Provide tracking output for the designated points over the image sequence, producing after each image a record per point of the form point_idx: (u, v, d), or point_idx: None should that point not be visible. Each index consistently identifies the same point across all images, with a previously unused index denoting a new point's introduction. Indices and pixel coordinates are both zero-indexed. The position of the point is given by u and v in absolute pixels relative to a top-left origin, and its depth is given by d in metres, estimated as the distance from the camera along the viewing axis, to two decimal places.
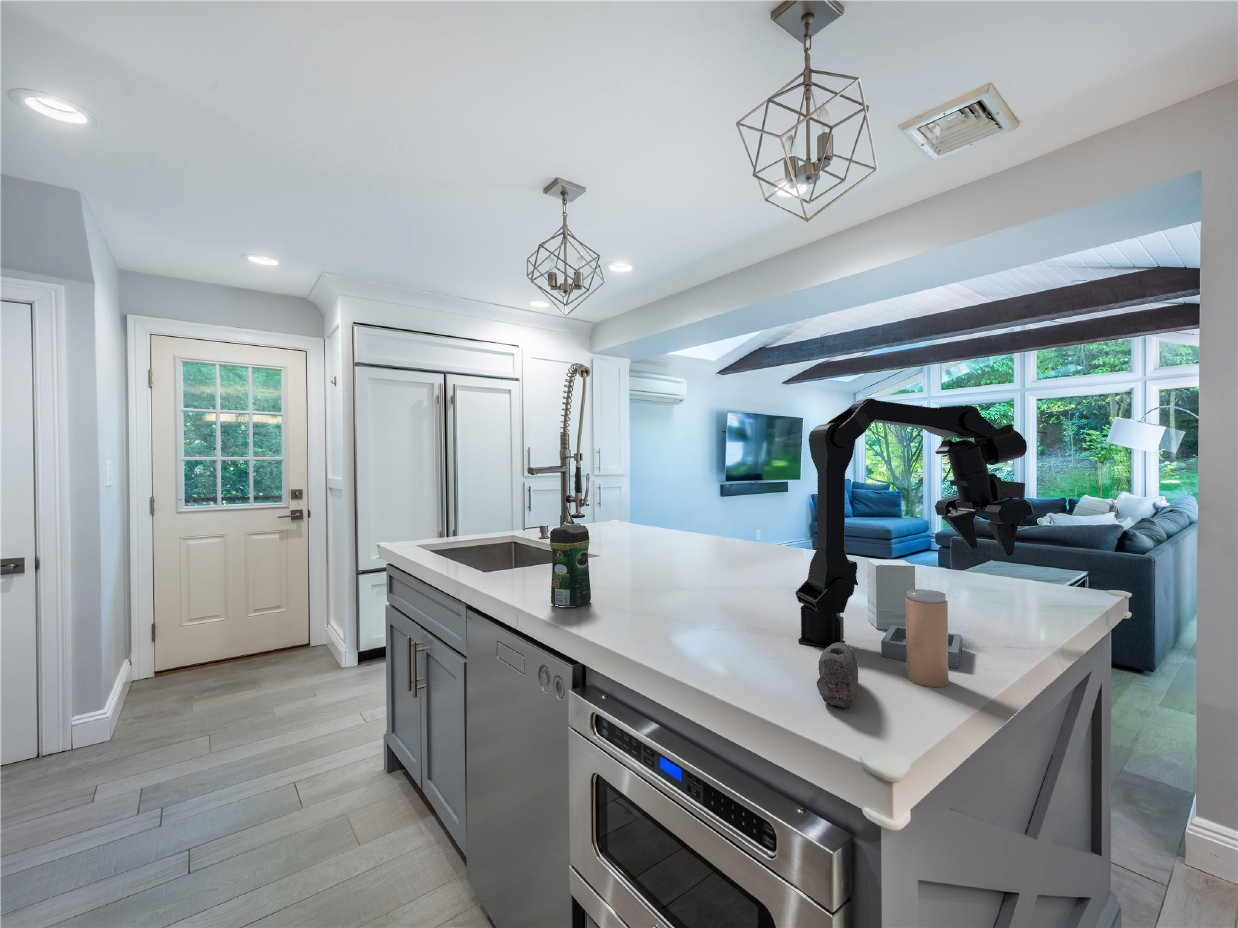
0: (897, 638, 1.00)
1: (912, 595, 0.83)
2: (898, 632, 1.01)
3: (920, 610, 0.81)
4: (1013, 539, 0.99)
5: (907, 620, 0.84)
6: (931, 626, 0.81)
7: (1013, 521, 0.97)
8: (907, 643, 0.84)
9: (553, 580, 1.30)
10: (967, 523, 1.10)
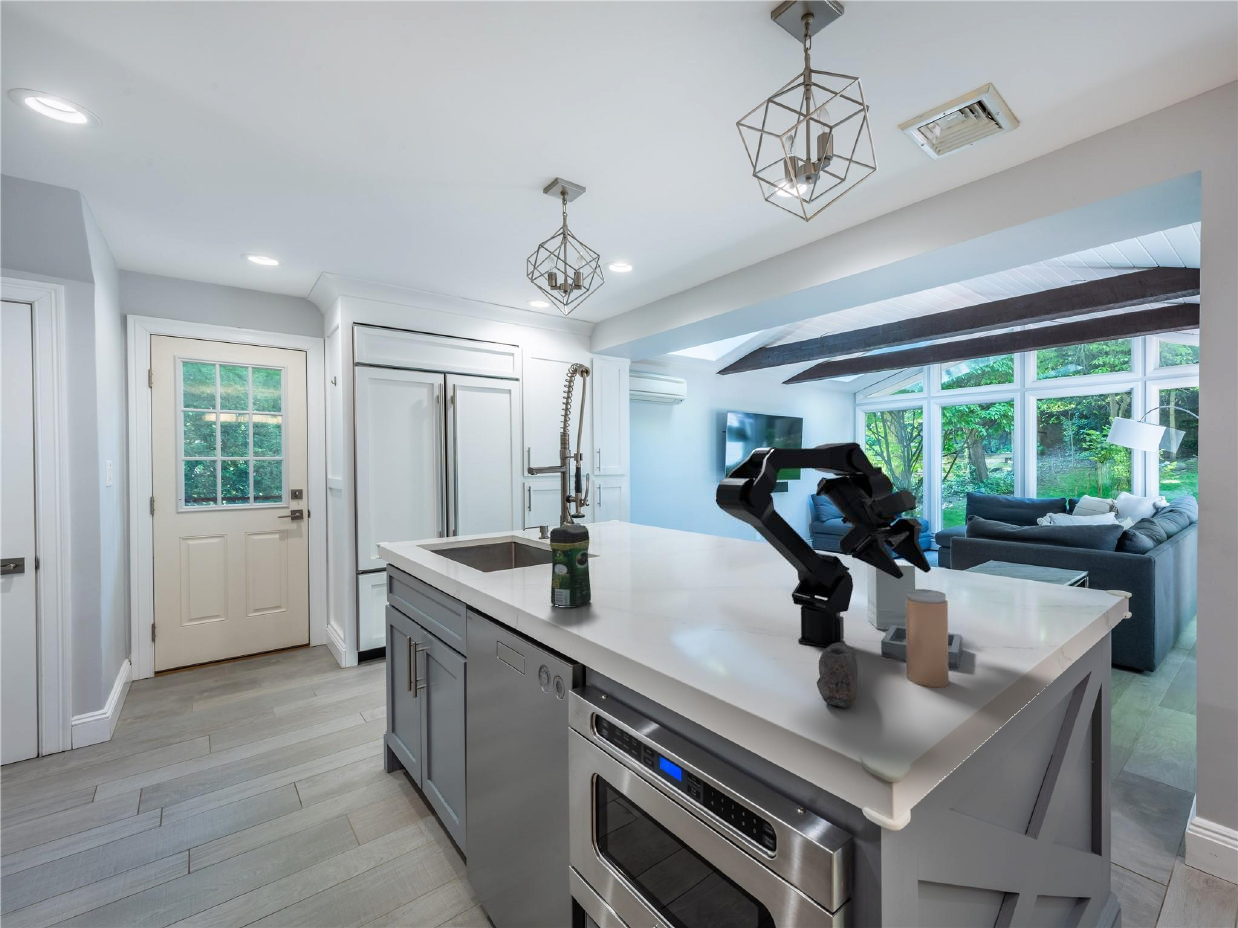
0: (897, 638, 1.00)
1: (912, 595, 0.83)
2: (898, 632, 1.01)
3: (920, 610, 0.81)
4: (888, 561, 0.92)
5: (907, 620, 0.84)
6: (931, 626, 0.81)
7: (861, 547, 0.94)
8: (907, 643, 0.84)
9: (553, 580, 1.30)
10: (909, 547, 1.00)
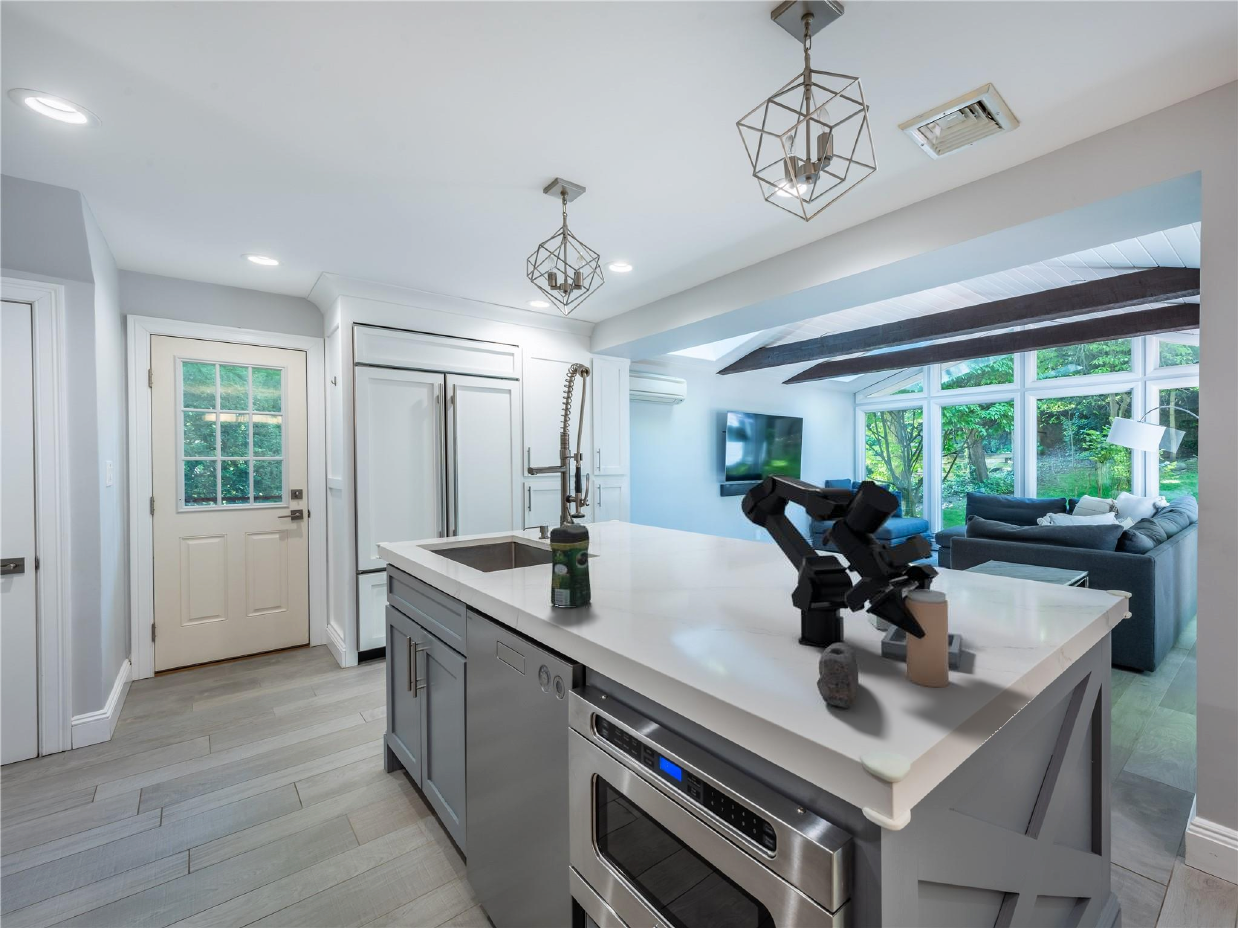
0: (897, 638, 1.00)
1: (912, 595, 0.83)
2: (898, 632, 1.01)
3: (920, 610, 0.81)
4: (907, 618, 0.82)
5: None
6: (931, 626, 0.81)
7: (876, 602, 0.83)
8: (907, 643, 0.84)
9: (553, 580, 1.30)
10: None
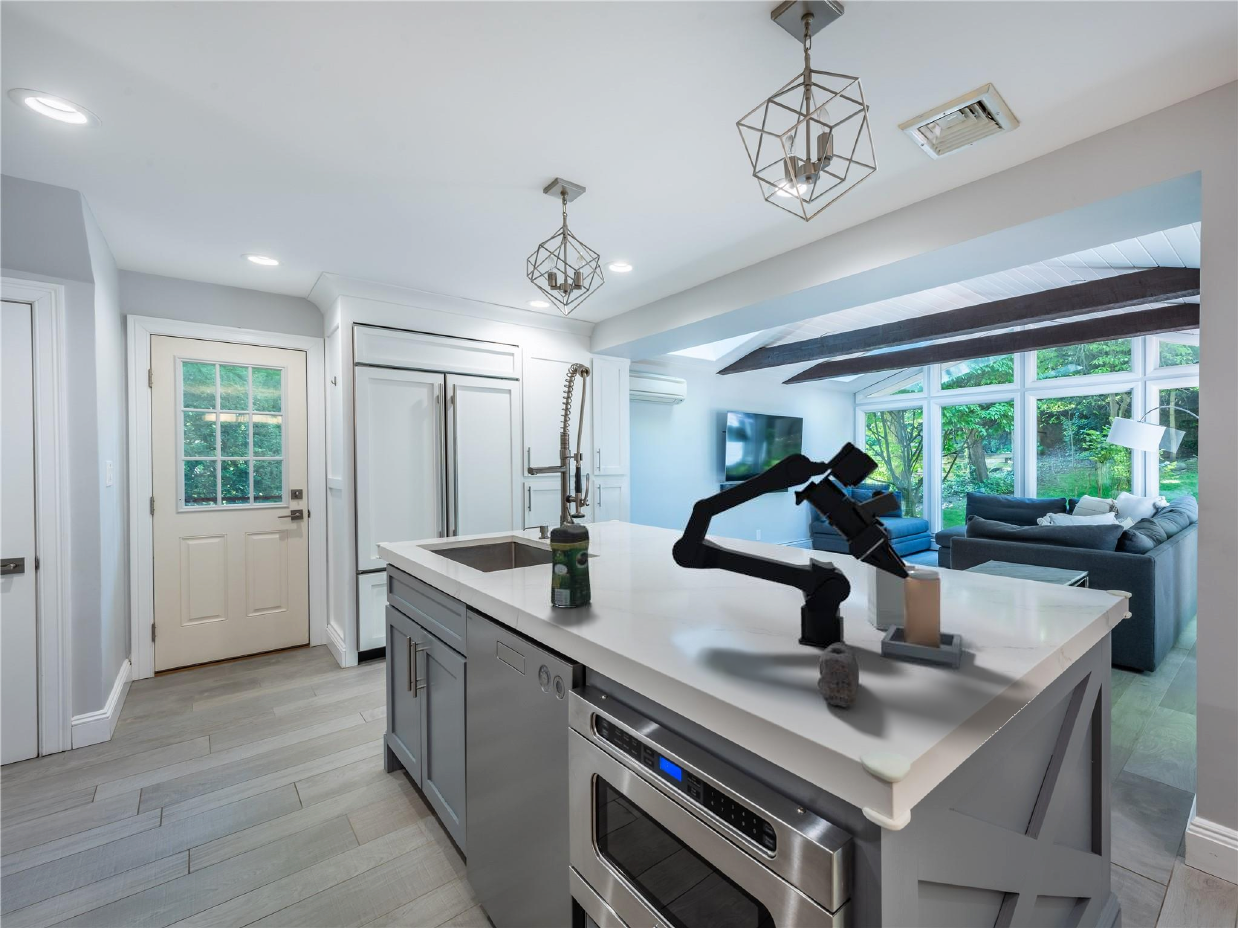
0: (897, 638, 1.00)
1: (917, 574, 0.93)
2: (898, 632, 1.01)
3: (926, 587, 0.93)
4: (896, 562, 0.92)
5: (910, 597, 0.94)
6: (934, 600, 0.93)
7: (873, 550, 0.91)
8: (910, 617, 0.94)
9: (553, 580, 1.30)
10: None
